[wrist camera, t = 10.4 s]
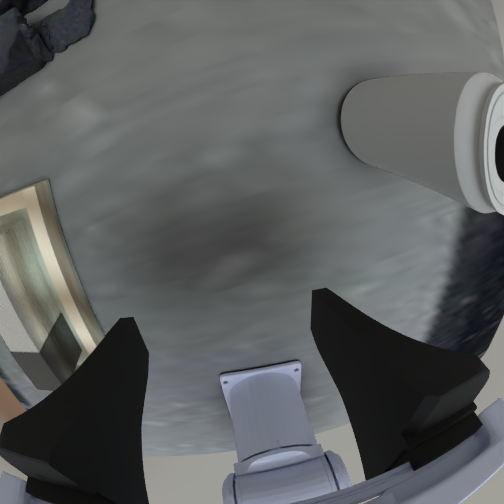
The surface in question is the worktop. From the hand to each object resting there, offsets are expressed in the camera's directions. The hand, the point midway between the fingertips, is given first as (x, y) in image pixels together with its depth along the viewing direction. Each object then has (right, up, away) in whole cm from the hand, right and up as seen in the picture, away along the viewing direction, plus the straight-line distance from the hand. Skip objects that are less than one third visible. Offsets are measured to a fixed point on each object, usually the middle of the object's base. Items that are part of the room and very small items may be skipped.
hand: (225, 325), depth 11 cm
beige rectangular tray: (-17, -1, +8) cm, 19 cm away
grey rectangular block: (-17, -1, +7) cm, 18 cm away
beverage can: (+10, +12, +7) cm, 17 cm away
